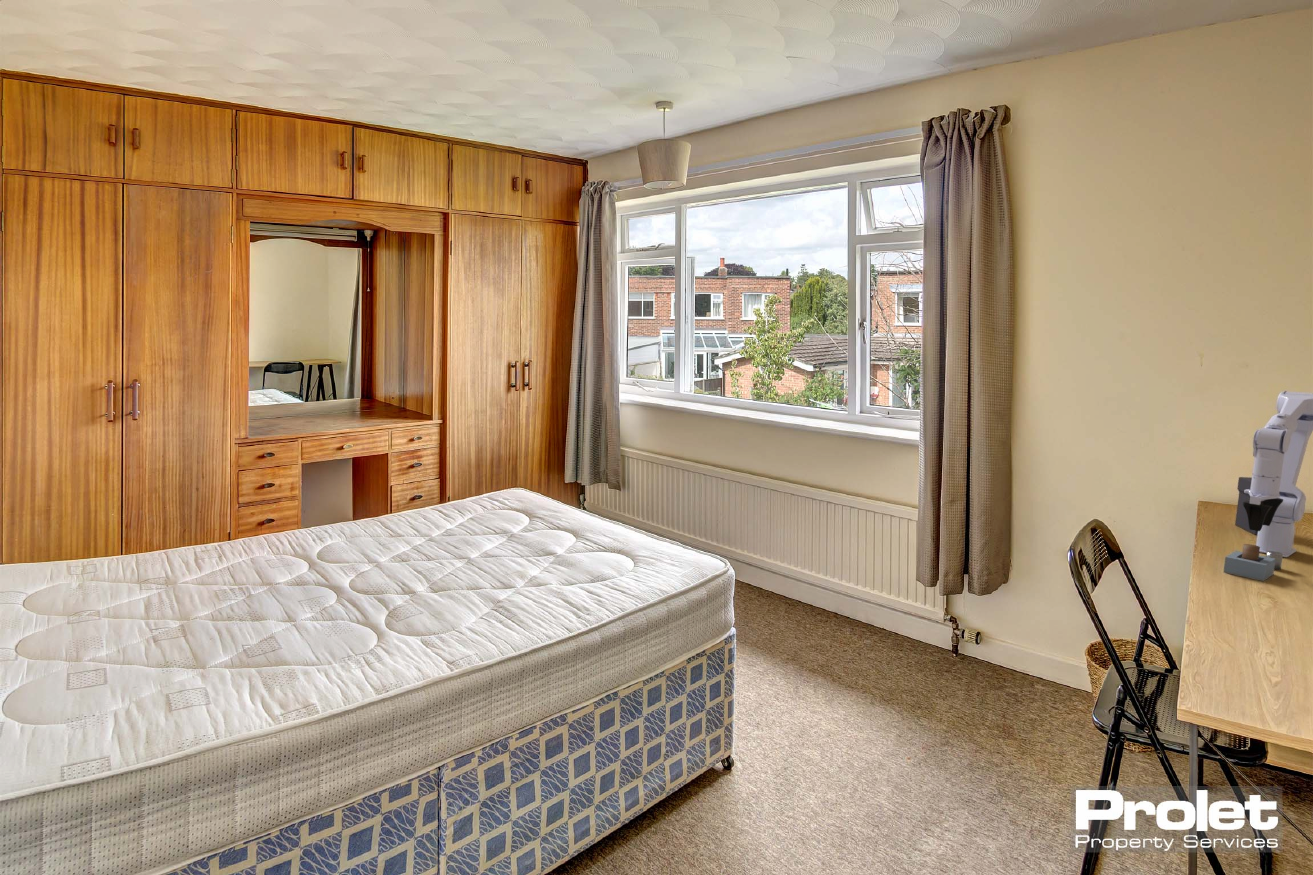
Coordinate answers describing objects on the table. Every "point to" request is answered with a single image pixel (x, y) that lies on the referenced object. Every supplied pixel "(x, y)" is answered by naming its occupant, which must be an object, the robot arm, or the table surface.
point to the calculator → (1241, 512)
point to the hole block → (1249, 566)
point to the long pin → (1250, 552)
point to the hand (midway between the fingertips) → (1259, 527)
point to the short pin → (1277, 557)
